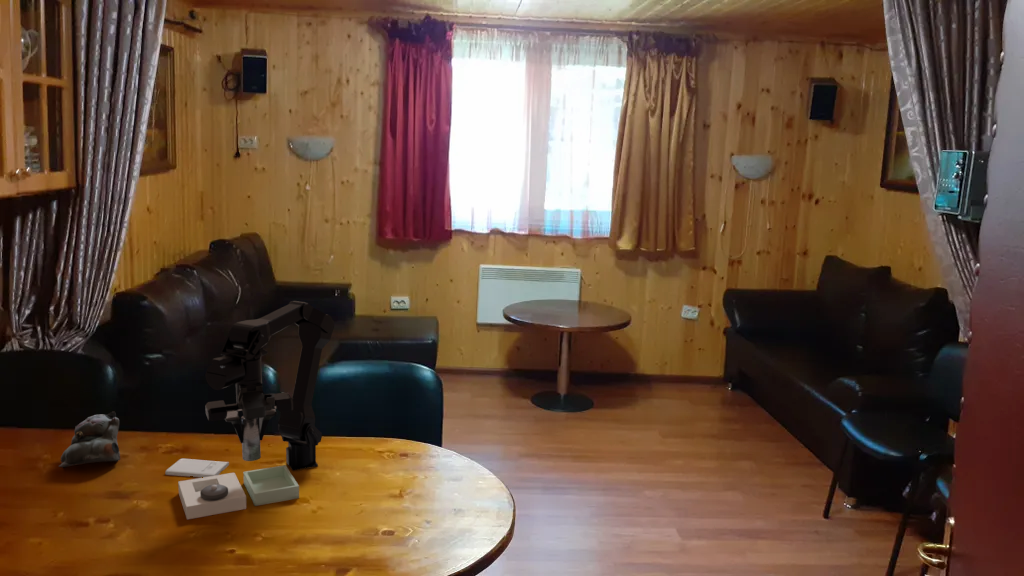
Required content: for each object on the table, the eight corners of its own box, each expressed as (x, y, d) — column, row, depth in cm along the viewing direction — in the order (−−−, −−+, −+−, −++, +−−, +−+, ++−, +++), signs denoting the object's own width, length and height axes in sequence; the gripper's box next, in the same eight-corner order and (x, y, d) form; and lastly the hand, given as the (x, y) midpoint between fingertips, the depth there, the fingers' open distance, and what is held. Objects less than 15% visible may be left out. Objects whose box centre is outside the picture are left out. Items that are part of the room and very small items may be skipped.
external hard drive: (182, 463, 206) (229, 467, 205) (165, 477, 198) (214, 480, 197) (181, 457, 206) (229, 461, 204) (165, 470, 197) (214, 474, 196)
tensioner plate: (234, 484, 194) (234, 463, 193) (246, 508, 182) (245, 486, 181) (178, 493, 188) (177, 471, 187) (186, 519, 176) (186, 496, 175)
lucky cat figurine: (47, 468, 198) (53, 412, 202) (90, 471, 209) (94, 417, 213) (91, 462, 192) (96, 404, 197) (132, 465, 203) (136, 410, 207)
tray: (285, 476, 199) (285, 465, 199) (299, 497, 188) (298, 485, 187) (243, 483, 194) (243, 471, 194) (255, 506, 183) (254, 493, 183)
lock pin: (258, 452, 191) (257, 413, 189) (262, 459, 188) (260, 418, 186) (241, 455, 189) (239, 415, 187) (244, 462, 186) (242, 421, 184)
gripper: (210, 393, 173) (213, 461, 176) (297, 382, 182) (299, 447, 185) (203, 378, 183) (206, 442, 186) (287, 368, 191) (289, 430, 195)
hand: (251, 441), depth 188 cm, fingers closed on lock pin, 4 cm apart
